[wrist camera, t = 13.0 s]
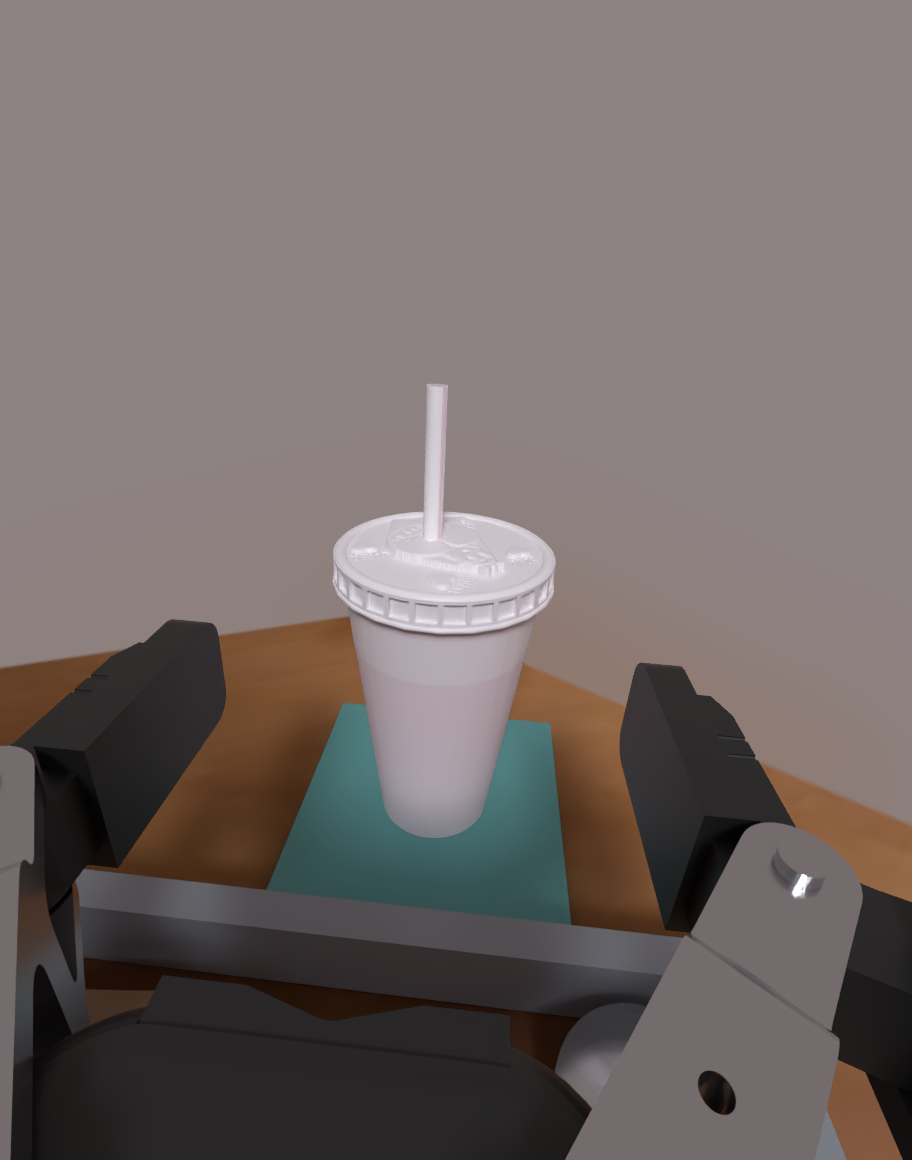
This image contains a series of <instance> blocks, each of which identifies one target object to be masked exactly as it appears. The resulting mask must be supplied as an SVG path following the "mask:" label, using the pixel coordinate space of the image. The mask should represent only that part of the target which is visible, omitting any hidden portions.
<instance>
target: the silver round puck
mask: <svg viewBox="0 0 912 1160" xmlns="http://www.w3.org/2000/svg"><path fill="white" fill-rule="evenodd" d="M646 1007H647V1006H644V1005H639V1004H633V1003H614V1004H608V1005H605V1006H601V1007H598V1008H596V1009H594V1010H592V1011H590V1012H589V1013H587V1014H586V1015H584V1016H583V1017H582V1018H581V1019H580V1020H579V1021H578V1022H577V1023H576V1024H575V1025H574V1026H573V1027H572V1029H571V1030H570V1032H569V1033H568V1035H567V1036H566V1038H565V1040H564V1042H563V1044H562V1047H561V1050H560V1053H559V1055H558V1059H557V1063H556V1067H555V1071H554V1072H555V1073H556V1074H557V1075H559V1076H560V1077H561V1078H562V1079H564V1080H565V1081H566V1082H567V1083H568V1084H569V1085H570V1086H571V1087H572V1088H573V1089H574V1090H575V1091H576V1092H577V1093H578V1094H579V1095H580V1096H581V1097H582V1098H583V1099H584V1100H585V1101H586V1102H587V1103H588V1104H589V1105H590V1107H591V1108H593V1106H594V1104H595V1103H596V1101H597V1099H598V1097H599V1095H600V1093H601V1091H602V1089H603V1087H604V1086H605V1084H606V1082H607V1080H608V1078H609V1076H610V1074H611V1072H612V1071H613V1069H614V1067H615V1065H616V1063H617V1061H618V1059H619V1057H620V1056H621V1054H622V1052H623V1050H624V1048H625V1046H626V1044H627V1042H628V1040H629V1039H630V1037H631V1035H632V1033H633V1031H634V1029H635V1027H636V1025H637V1024H638V1022H639V1020H640V1018H641V1016H642V1014H643V1012H644V1010H645V1009H646Z"/></svg>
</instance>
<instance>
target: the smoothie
mask: <svg viewBox="0 0 912 1160" xmlns="http://www.w3.org/2000/svg"><path fill="white" fill-rule="evenodd" d="M426 401H427V402H426V439H425V478H424V481H425V482H424V512H411V513H403V514H396V515H390V516H385V517H381V518H377V519H374V520H371V521H368V522H365V523H363V524H361V525H358V526H356V527H354V528H352V529H351V530H350V531H348V532H347V533H345V534H344V535H343V536H342V537H341V538H340V539H339V540H338V541H337V543H336V545H335V547H334V551H333V557H334V575H333V580H332V584H333V586H334V588H335V591H336V593H337V595H338V597H339V598H340V599H341V600H342V601H343V602H344V603H345V604H347V605H348V609H349V615H350V622H351V628H352V634H353V640H354V645H355V649H356V655H357V660H358V666H359V671H360V677H361V682H362V688H363V693H364V699H365V705H366V710H367V716H368V721H369V727H370V732H371V738H372V743H373V749H374V754H375V760H376V765H377V771H378V777H379V782H380V788H381V793H382V799H383V804H384V808H385V810H386V812H387V814H388V816H389V817H390V819H391V820H392V821H393V822H394V823H395V824H396V825H397V826H399V827H400V828H401V829H403V830H405V831H407V832H409V833H411V834H414V835H417V836H420V837H426V838H443V837H449V836H453V835H456V834H458V833H461V832H463V831H465V830H466V829H468V828H469V827H471V826H472V825H473V824H474V823H475V822H476V821H477V820H478V818H479V817H480V816H481V814H482V812H483V809H484V806H485V802H486V799H487V795H488V791H489V788H490V784H491V780H492V777H493V773H494V769H495V766H496V762H497V758H498V754H499V751H500V747H501V743H502V740H503V736H504V732H505V729H506V725H507V721H508V718H509V714H510V710H511V707H512V703H513V699H514V695H515V692H516V688H517V684H518V681H519V677H520V673H521V670H522V666H523V662H524V659H525V655H526V652H527V649H528V645H529V641H530V637H531V633H532V629H533V625H534V621H535V617H536V614H537V613H539V612H540V611H542V610H543V609H545V608H546V606H547V605H548V603H549V601H550V600H551V598H552V597H553V595H554V580H553V577H554V570H555V556H554V554H553V551H552V550H551V549H550V547H549V546H548V545H547V544H546V543H545V542H544V541H543V540H542V539H541V538H540V537H538V536H536V535H535V534H533V533H532V532H530V531H528V530H526V529H524V528H521V527H519V526H517V525H515V524H511V523H508V522H505V521H502V520H499V519H494V518H490V517H486V516H480V515H473V514H468V513H456V512H443V502H444V478H445V453H446V428H447V403H448V385H443V384H428V385H427V400H426Z"/></svg>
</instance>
